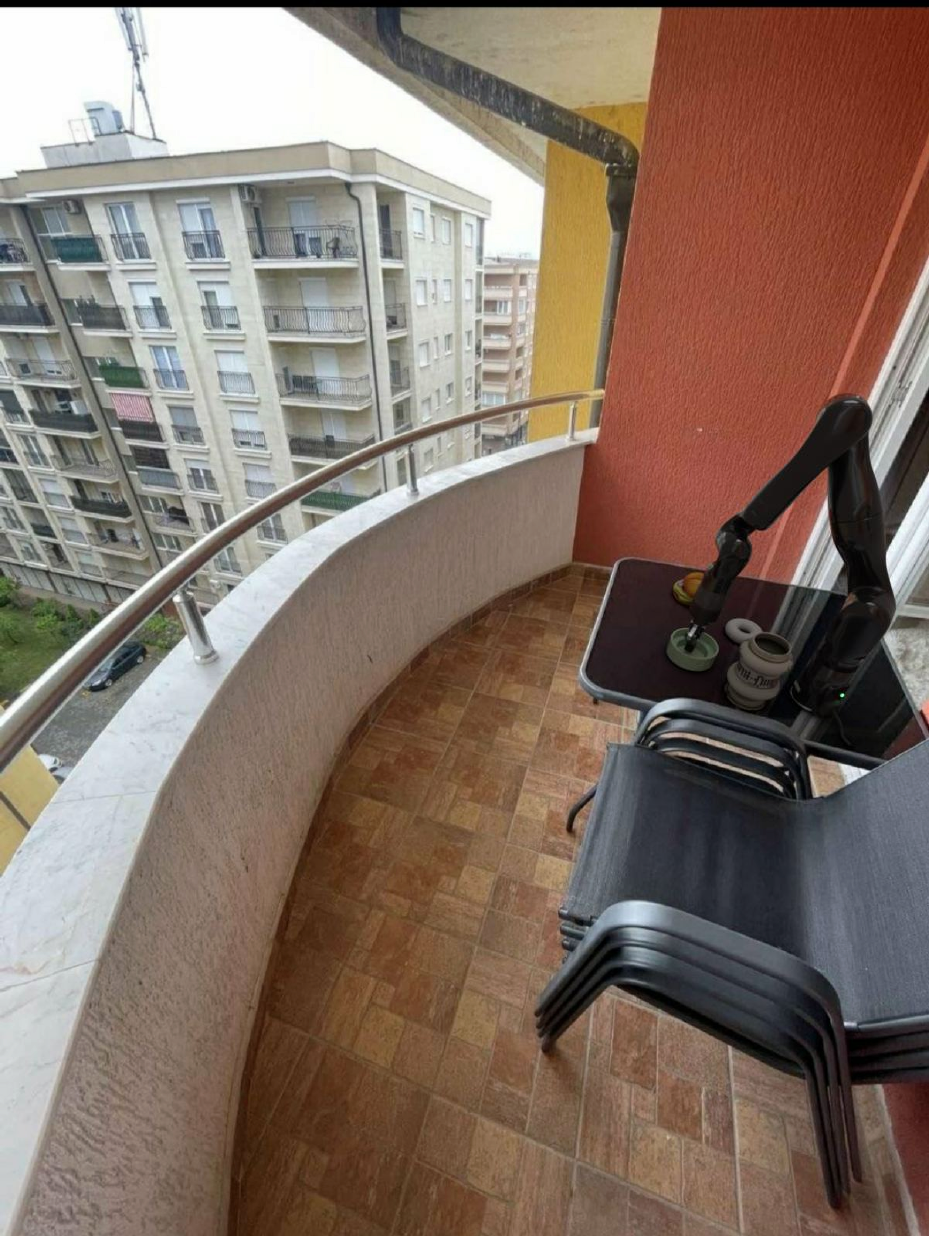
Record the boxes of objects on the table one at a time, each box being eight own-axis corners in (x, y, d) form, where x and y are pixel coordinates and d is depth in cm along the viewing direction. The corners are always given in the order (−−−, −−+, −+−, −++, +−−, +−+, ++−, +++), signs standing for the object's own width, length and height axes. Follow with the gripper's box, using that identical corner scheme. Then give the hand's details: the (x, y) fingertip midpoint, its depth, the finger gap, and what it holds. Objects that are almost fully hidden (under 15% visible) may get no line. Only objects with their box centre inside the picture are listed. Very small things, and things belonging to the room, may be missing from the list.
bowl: (722, 667, 146) (728, 654, 143) (683, 676, 143) (689, 663, 140) (693, 637, 155) (699, 624, 152) (656, 646, 152) (661, 632, 149)
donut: (726, 645, 153) (764, 650, 152) (730, 636, 151) (768, 641, 150) (720, 622, 161) (756, 627, 159) (724, 613, 159) (761, 618, 157)
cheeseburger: (688, 583, 175) (704, 562, 167) (708, 609, 169) (726, 588, 161) (663, 590, 171) (678, 568, 163) (683, 616, 166) (699, 595, 158)
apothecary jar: (711, 678, 143) (736, 626, 131) (755, 677, 144) (784, 625, 132) (732, 714, 134) (761, 662, 122) (779, 713, 135) (812, 661, 123)
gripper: (713, 619, 132) (691, 669, 143) (734, 595, 139) (711, 644, 151) (684, 605, 135) (664, 656, 146) (705, 582, 143) (685, 632, 154)
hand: (688, 650), depth 148 cm, fingers closed
